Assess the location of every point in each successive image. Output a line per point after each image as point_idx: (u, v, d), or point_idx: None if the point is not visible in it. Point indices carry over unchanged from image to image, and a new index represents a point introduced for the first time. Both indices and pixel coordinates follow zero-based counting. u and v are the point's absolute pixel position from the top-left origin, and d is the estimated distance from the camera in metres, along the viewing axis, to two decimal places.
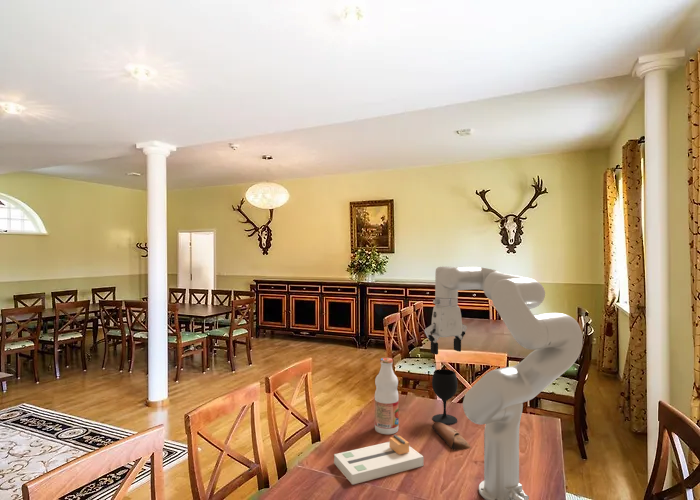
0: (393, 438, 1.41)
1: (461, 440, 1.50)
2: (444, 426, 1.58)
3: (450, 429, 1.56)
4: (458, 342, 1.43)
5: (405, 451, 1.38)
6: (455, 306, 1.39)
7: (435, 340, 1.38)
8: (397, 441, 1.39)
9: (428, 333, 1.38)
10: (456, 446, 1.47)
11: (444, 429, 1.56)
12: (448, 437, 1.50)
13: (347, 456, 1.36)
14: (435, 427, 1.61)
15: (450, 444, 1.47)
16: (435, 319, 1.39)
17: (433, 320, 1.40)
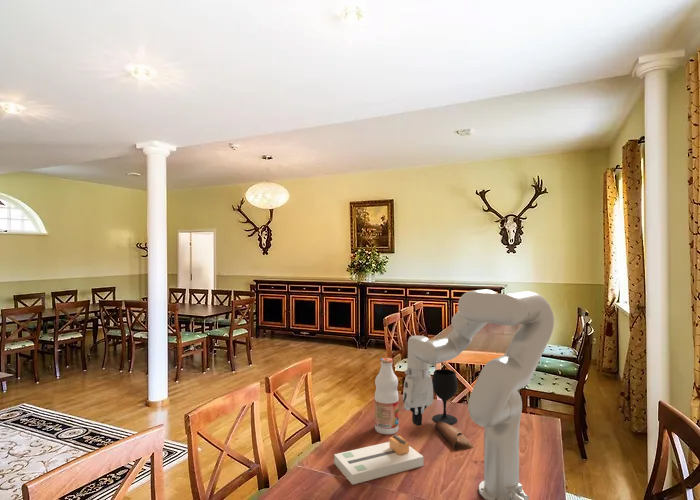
0: (393, 438, 1.41)
1: (464, 440, 1.50)
2: (447, 425, 1.59)
3: (453, 429, 1.56)
4: None
5: (405, 451, 1.38)
6: (426, 377, 1.41)
7: (416, 412, 1.42)
8: (397, 441, 1.39)
9: (408, 408, 1.42)
10: (458, 446, 1.47)
11: (447, 428, 1.56)
12: (451, 437, 1.50)
13: (347, 456, 1.36)
14: (438, 427, 1.61)
15: (453, 444, 1.48)
16: (406, 389, 1.41)
17: (405, 390, 1.42)
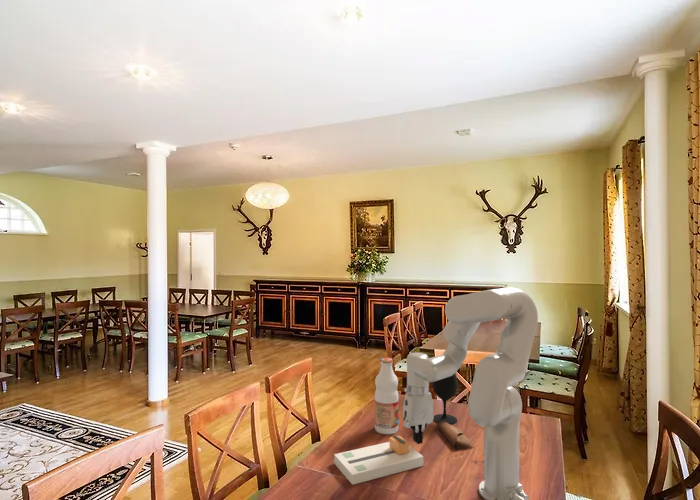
0: (393, 438, 1.41)
1: (464, 440, 1.50)
2: (448, 425, 1.59)
3: (454, 429, 1.56)
4: None
5: (405, 451, 1.38)
6: (426, 394, 1.41)
7: (417, 430, 1.42)
8: (397, 441, 1.39)
9: (409, 426, 1.41)
10: (458, 445, 1.47)
11: (448, 428, 1.56)
12: (451, 437, 1.50)
13: (347, 456, 1.36)
14: (440, 427, 1.61)
15: (453, 443, 1.48)
16: (406, 407, 1.41)
17: (405, 408, 1.42)
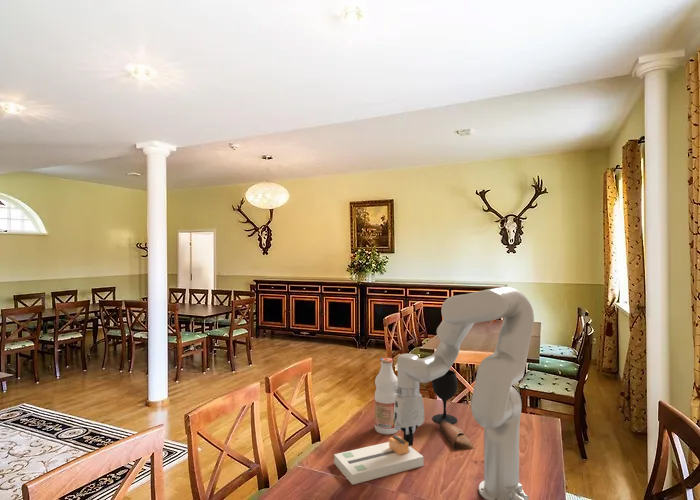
0: (393, 438, 1.41)
1: (464, 440, 1.50)
2: (449, 425, 1.59)
3: (455, 429, 1.56)
4: None
5: (405, 451, 1.38)
6: (416, 396, 1.39)
7: (407, 432, 1.40)
8: (397, 441, 1.39)
9: (399, 428, 1.40)
10: (458, 445, 1.47)
11: (449, 428, 1.56)
12: (451, 437, 1.51)
13: (347, 456, 1.36)
14: (441, 426, 1.61)
15: (452, 443, 1.48)
16: (396, 409, 1.39)
17: (395, 410, 1.40)
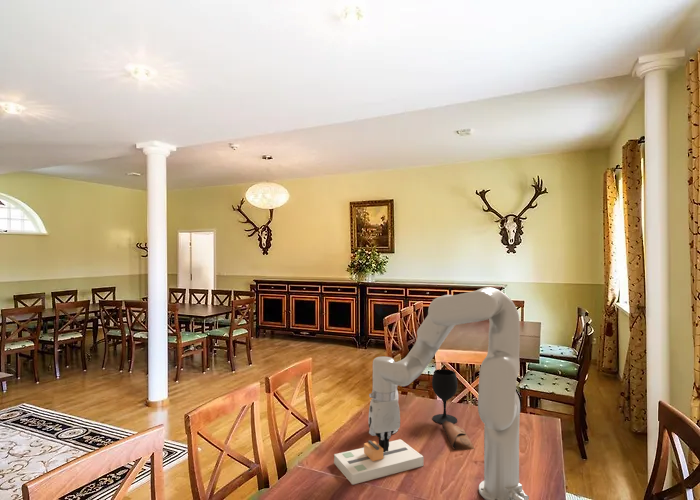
0: (367, 444, 1.37)
1: (465, 440, 1.50)
2: (451, 425, 1.59)
3: (457, 429, 1.56)
4: None
5: (379, 457, 1.33)
6: (392, 400, 1.35)
7: (382, 437, 1.36)
8: (371, 447, 1.35)
9: (374, 434, 1.35)
10: (457, 445, 1.47)
11: (451, 428, 1.56)
12: (451, 436, 1.51)
13: (347, 456, 1.36)
14: (444, 426, 1.62)
15: (452, 443, 1.48)
16: (371, 414, 1.35)
17: (370, 415, 1.36)
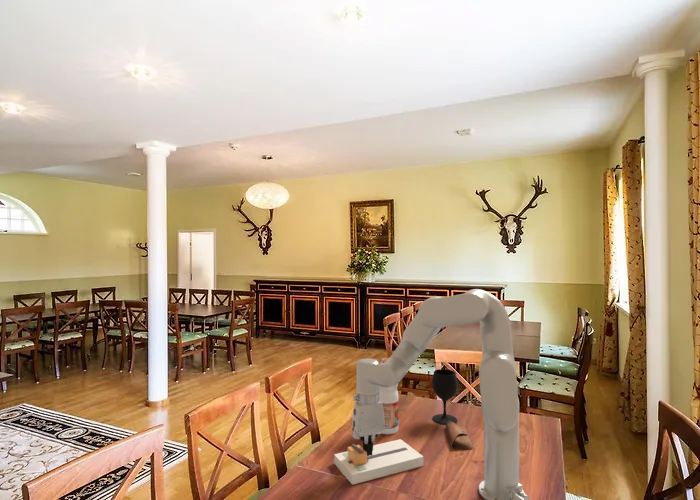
0: (351, 447, 1.34)
1: (465, 441, 1.49)
2: (454, 425, 1.59)
3: (458, 429, 1.56)
4: None
5: (363, 461, 1.31)
6: (375, 403, 1.32)
7: (366, 441, 1.33)
8: (355, 451, 1.32)
9: (357, 437, 1.33)
10: (456, 445, 1.47)
11: (452, 428, 1.57)
12: (452, 436, 1.51)
13: (347, 456, 1.36)
14: (446, 426, 1.62)
15: (451, 443, 1.48)
16: (355, 417, 1.32)
17: (353, 418, 1.33)
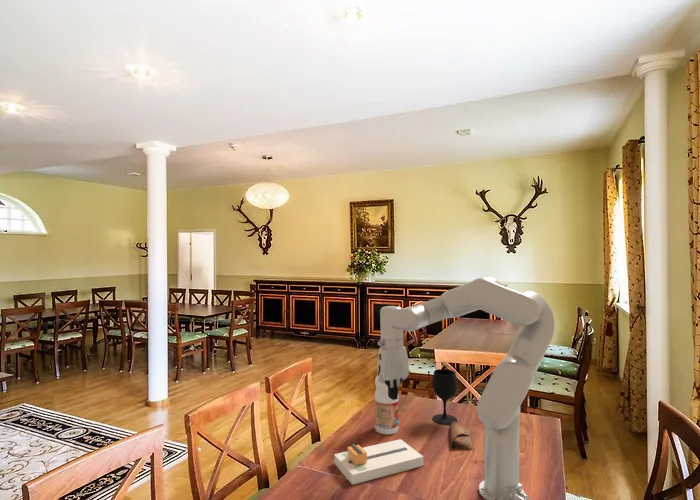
0: (351, 447, 1.34)
1: (465, 441, 1.49)
2: (457, 425, 1.59)
3: (461, 429, 1.56)
4: None
5: (362, 461, 1.31)
6: (400, 347, 1.35)
7: (391, 385, 1.36)
8: (354, 451, 1.32)
9: (383, 381, 1.36)
10: (456, 445, 1.47)
11: (455, 428, 1.57)
12: (452, 436, 1.51)
13: None
14: (450, 426, 1.62)
15: (451, 442, 1.49)
16: (380, 361, 1.35)
17: (378, 363, 1.36)
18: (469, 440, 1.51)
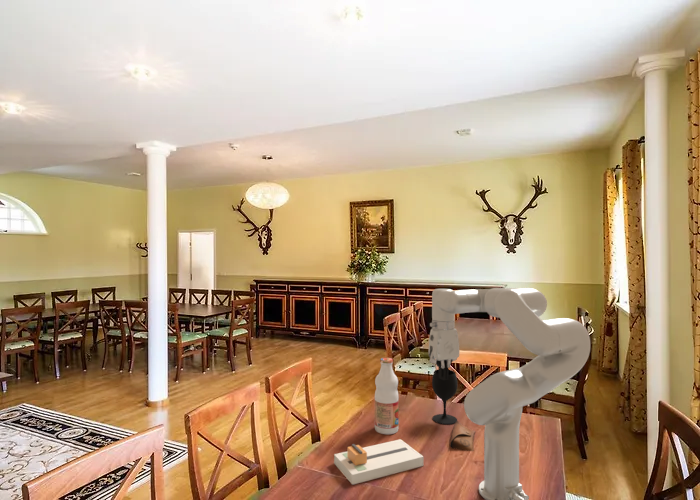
0: (351, 447, 1.34)
1: (465, 441, 1.49)
2: (459, 426, 1.59)
3: (462, 430, 1.55)
4: None
5: (362, 461, 1.31)
6: (452, 329, 1.38)
7: (442, 366, 1.39)
8: (354, 451, 1.32)
9: (434, 362, 1.39)
10: (455, 445, 1.48)
11: (457, 428, 1.56)
12: (452, 436, 1.51)
13: None
14: (454, 426, 1.62)
15: (450, 442, 1.49)
16: (432, 342, 1.38)
17: (430, 344, 1.39)
18: (470, 441, 1.50)
